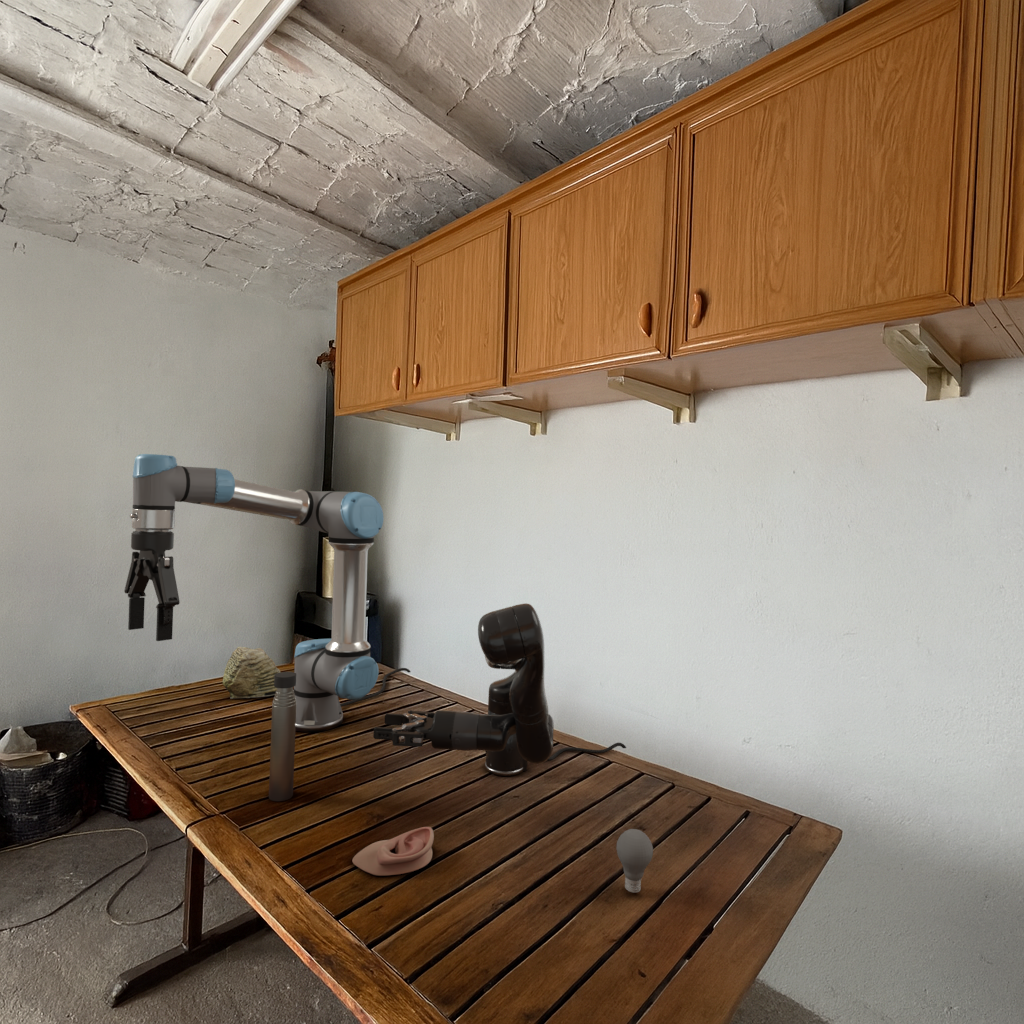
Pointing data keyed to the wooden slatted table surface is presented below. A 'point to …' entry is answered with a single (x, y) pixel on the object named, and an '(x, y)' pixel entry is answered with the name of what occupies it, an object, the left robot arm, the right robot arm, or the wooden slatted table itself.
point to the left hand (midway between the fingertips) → (149, 634)
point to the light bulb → (634, 857)
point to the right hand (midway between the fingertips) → (379, 725)
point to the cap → (285, 680)
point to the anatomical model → (397, 853)
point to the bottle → (282, 745)
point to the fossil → (250, 674)
